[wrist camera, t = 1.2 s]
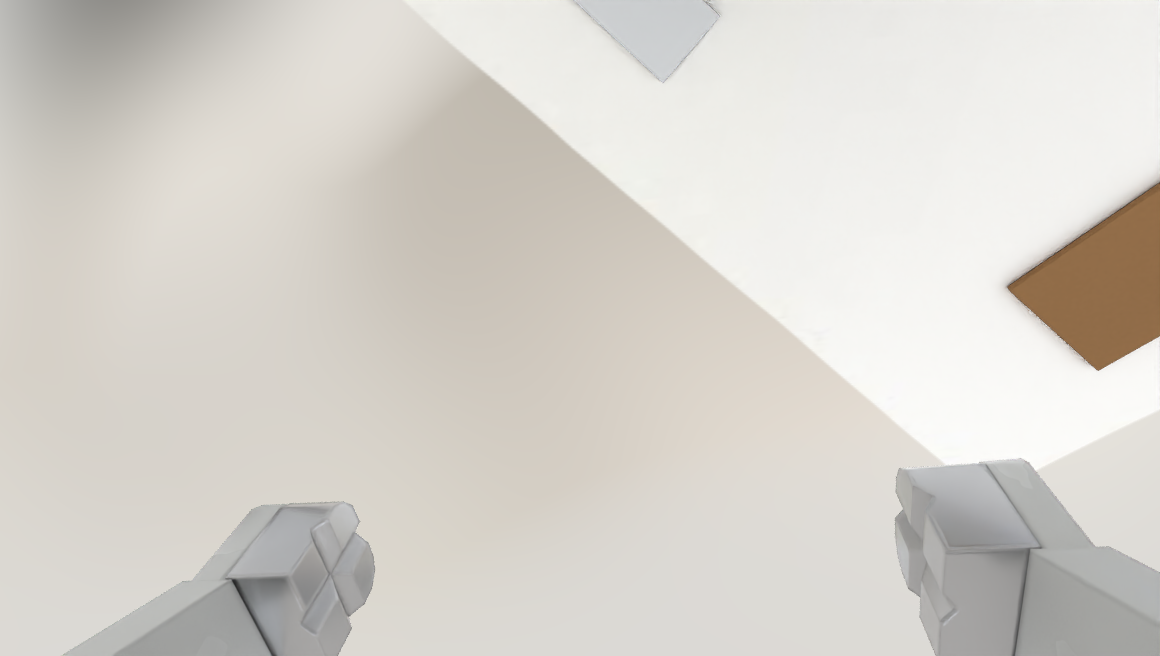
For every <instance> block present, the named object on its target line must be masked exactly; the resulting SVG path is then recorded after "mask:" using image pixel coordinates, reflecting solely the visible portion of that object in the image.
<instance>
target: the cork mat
mask: <svg viewBox="0 0 1160 656" xmlns="http://www.w3.org/2000/svg"><path fill="white" fill-rule="evenodd" d="M1008 289H1009V291H1010V292H1011V293H1013V294H1014V295H1015V296H1016V297H1017V298H1018V299H1019V300H1020V301H1021V302H1022V303H1024V304H1025V305H1026V306H1027V307H1028V308H1029V309H1030V310H1031V311H1032V312H1033V313H1035V314H1036V315H1037V316H1038V317H1039V318H1040V319H1041V320H1042V321H1043V322H1044V323H1046V324H1047V325H1048V326H1049V327H1050V328H1051V329H1052V330H1053V331H1054V332H1055V333H1057V334H1058V335H1059V336H1060V337H1061V338H1062V339H1063V340H1064V341H1065V342H1066V343H1068V344H1069V345H1070V346H1071V347H1072V348H1073V349H1074V350H1075V351H1076V352H1077V353H1079V354H1080V355H1081V356H1082V357H1083V358H1084V359H1085V360H1086V361H1087V362H1089V363H1090V364H1091V365H1092V366H1093V367H1094V368H1095V369H1096V370H1098V371H1099V370H1101V369H1102V368H1104V367H1106V366H1108V365H1109V364H1111V363H1113V362H1115V361H1117V360H1118V359H1120V358H1122V357H1124V356H1125V355H1127V354H1129V353H1131V352H1133V351H1134V350H1136V349H1138V348H1140V347H1141V346H1143V345H1145V344H1147V343H1149V342H1150V341H1152V340H1154V339H1156V338H1157V337H1159V336H1160V183H1159V184H1157V185H1156V186H1154V187H1153V188H1151V189H1150V190H1148V191H1147V192H1145V193H1144V194H1142V195H1141V196H1139V197H1138V198H1137V199H1135V200H1134V201H1132V202H1131V203H1129V204H1128V205H1126V206H1125V207H1123V208H1122V209H1120V210H1119V211H1118V212H1116V213H1115V214H1113V215H1112V216H1110V217H1109V218H1107V219H1106V220H1104V221H1103V222H1101V223H1100V224H1098V225H1097V226H1096V227H1094V228H1093V229H1091V230H1090V231H1088V232H1087V233H1085V234H1084V235H1082V236H1081V237H1079V238H1078V239H1076V240H1075V241H1074V242H1072V243H1071V244H1069V245H1068V246H1066V247H1065V248H1063V249H1062V250H1060V251H1059V252H1057V253H1056V254H1055V255H1053V256H1052V257H1050V258H1049V259H1047V260H1046V261H1044V262H1043V263H1041V264H1040V265H1038V266H1037V267H1035V268H1034V269H1033V270H1031V271H1030V272H1028V273H1027V274H1025V275H1024V276H1022V277H1021V278H1019V279H1018V280H1016V281H1015V282H1014V283H1012V284H1011V285H1009V286H1008Z"/></svg>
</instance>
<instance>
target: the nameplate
mask: <svg viewBox="0 0 1160 656" xmlns="http://www.w3.org/2000/svg"><path fill="white" fill-rule="evenodd" d="M574 1H575V2H576V3H577V4H578V5H579V6H580V7H581V8H582V9H583V10H585V11H586V12H587V13H588V14H589V15H590V16H591V17H592V18H593V19H594V20H595V21H596V22H598V23H599V24H600V25H601V26H602V27H603V28H604V29H605V30H606V31H607V32H608V33H609V34H610V35H612V36H613V37H614V38H615V39H616V40H617V41H618V42H619V43H620V44H621V45H622V46H623V47H624V48H626V49H627V50H628V51H629V52H630V53H631V54H632V55H633V56H634V57H635V58H636V59H637V60H638V61H640V62H641V63H642V64H643V65H644V66H645V67H646V68H647V69H648V70H649V71H650V72H651V73H653V74H654V75H655V76H656V77H657V78H658V79H659V80H660V81H661V82H662V83H664V82H665V80H666V79H667V78H668V77H669V76H670V75H671V73H672V72H673V71H674V70H675V69H676V67H677V66H678V65H679V64H680V63H681V62H682V60H683V59H684V58H685V57H686V56H687V55H688V53H689V52H690V51H691V50H692V49H693V48H694V46H695V45H696V44H697V43H698V42H699V41H700V39H701V38H702V37H703V36H704V35H705V34H706V32H707V31H708V30H709V29H710V28H711V27H712V25H713V24H714V23H715V22H716V21H717V20H718V18H719V17H720V16H719V15H718V14H717V13H716V12H715V11H714V10H713V9H712V8H711V7H710V6H709V5H708V4H707V3H706V2H705V1H704V0H574Z"/></svg>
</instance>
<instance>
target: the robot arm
mask: <svg viewBox="0 0 1160 656" xmlns="http://www.w3.org/2000/svg"><path fill="white" fill-rule="evenodd" d="M896 494H897V496H898V498H899V501H900V503H901V505H902V507H903V510H902V511H901V512H900V513H899V514H898V516H897V517H896V518H895V539H896V546H897V553H898V559H899V563H900V566H901V569H902V573H903V575H904V578H905V581H906V584H907V586H908V589H910V590H911V591H912V592H914V593H915V594H916V595H918V596H919V597H920V619H921V621H922V623H923V626H924V628H925V631H926V633H927V635H928V638H929V640H930V643H931V645H932V648H933V650H934V653H935V655H936V656H1160V572H1158V571H1156V570H1154V569H1152V568H1150V567H1148V566H1146V565H1144V564H1143V563H1140V562H1139V561H1137V560H1135V559H1133V558H1131V557H1129V556H1127V555H1125V554H1123V553H1121V552H1119V551H1117V550H1115V549H1113V548H1111V547H1095V545H1094V544H1093V543H1092V542H1091V541H1090V539H1089V538H1088V537H1087V535H1086V534H1085V533H1084V532H1083V530H1082V529H1081V528H1080V527H1079V525H1078V524H1077V523H1076V521H1075V520H1074V519H1073V518H1072V516H1071V515H1070V514H1069V513H1068V511H1067V510H1066V509H1065V508H1064V506H1063V505H1062V504H1061V503H1060V501H1059V500H1058V499H1057V497H1056V496H1055V495H1054V494H1053V492H1052V491H1051V490H1050V489H1049V487H1048V486H1047V485H1046V483H1045V482H1044V481H1043V480H1042V479H1041V478H1040V476H1039V475H1038V473H1037V472H1036V471H1035V470H1034V468H1033V467H1032V466H1031V464H1030V463H1029V462H1027V461H1025V460H1023V459H1009V460H997V461H985V462H979V463H973V464H958V465H942V466H927V467H912V468H899V470H898V474H897V477H896ZM358 524H359V519H358V516H357V514H356V512H355V510H354V508H353V506H352V505H351V504H348V503H345V502H320V503H290V504H276V505H261V506H259V507H256V508H254V509H252V510H251V511H250V512H249V514H247V516H246V517H245V518H244V519H243V520H242V522H241V523H240V524H239V525H238V526H237V528H236V529H235V530H234V531H233V532H232V533H231V535H230V536H229V537H228V538H227V540H226V541H225V542H224V543H223V544H222V545H221V547H220V548H219V549H218V550H217V551H216V552H215V554H214V555H213V556H212V557H211V558H210V560H209V561H208V562H207V563H206V565H205V566H204V567H203V568H202V569H201V570H200V571H199V573H198V574H197V575H196V576H195V577H194V579H193V580H192V581H182V582H181V583H179V584H178V585H176V586H174V587H173V588H171V589H169V590H168V591H166V592H164V593H163V594H161V595H160V596H158V597H156V598H155V599H153V600H151V601H150V602H148V603H147V604H145V605H143V606H142V607H140V608H138V609H137V610H135V611H133V612H132V613H130V614H129V615H127V616H125V617H124V618H122V619H120V620H119V621H117V622H116V623H114V624H112V625H111V626H109V627H108V628H106V629H104V630H102V631H101V632H99V633H98V634H96V635H94V636H93V637H91V638H89V639H88V640H86V641H85V642H83V643H81V644H80V645H78V646H76V647H75V648H73V649H71V650H70V651H68V652H67V653H65V654H63V655H62V656H338V654H339V652H340V650H341V648H342V646H343V644H344V643H345V641H346V639H347V637H348V635H349V633H350V631H351V629H352V627H351V623H350V619H349V616H350V615H351V614H353V613H354V612H355V611H356V610H358V609H359V608H360V607H361V606H363V605H364V604H365V602H366V600H367V598H368V596H369V594H370V591H371V589H372V585H373V579H374V573H375V566H374V557H373V553H372V551H371V548H370V545H369V543H368V542H367V541H365V540H364V539H363V538H362V537H360V536H359V535H358V534H357V533H355V532H356V529H357V527H358Z"/></svg>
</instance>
